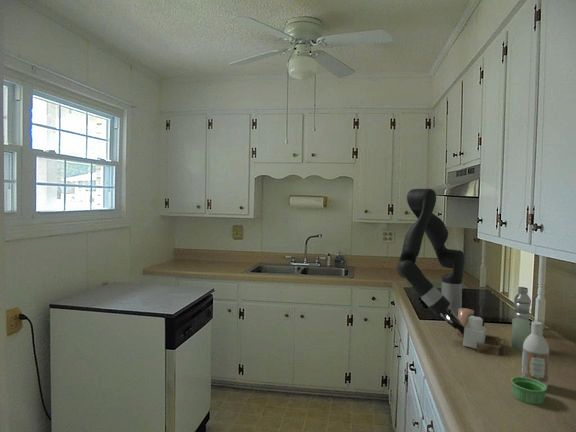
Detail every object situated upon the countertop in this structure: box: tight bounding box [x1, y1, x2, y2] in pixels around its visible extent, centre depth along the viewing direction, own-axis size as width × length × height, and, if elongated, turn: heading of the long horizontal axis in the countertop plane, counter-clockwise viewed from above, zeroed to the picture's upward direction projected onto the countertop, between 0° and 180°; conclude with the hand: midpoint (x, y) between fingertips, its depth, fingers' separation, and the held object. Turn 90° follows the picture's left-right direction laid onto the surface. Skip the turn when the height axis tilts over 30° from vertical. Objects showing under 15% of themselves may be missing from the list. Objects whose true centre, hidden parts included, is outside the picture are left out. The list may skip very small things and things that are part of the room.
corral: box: [476, 334, 504, 357], centre depth 154 cm, size 9×13×3 cm, turn 158°
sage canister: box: [510, 317, 531, 352], centre depth 154 cm, size 6×6×11 cm
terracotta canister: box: [456, 307, 475, 338], centre depth 167 cm, size 6×6×11 cm
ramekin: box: [510, 376, 548, 406], centre depth 115 cm, size 9×9×4 cm
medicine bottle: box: [462, 314, 487, 350], centre depth 155 cm, size 7×7×12 cm
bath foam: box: [521, 320, 550, 388], centre depth 123 cm, size 7×7×20 cm
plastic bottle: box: [513, 286, 532, 321], centre depth 171 cm, size 6×7×20 cm
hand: (466, 334), depth 157 cm, fingers closed
